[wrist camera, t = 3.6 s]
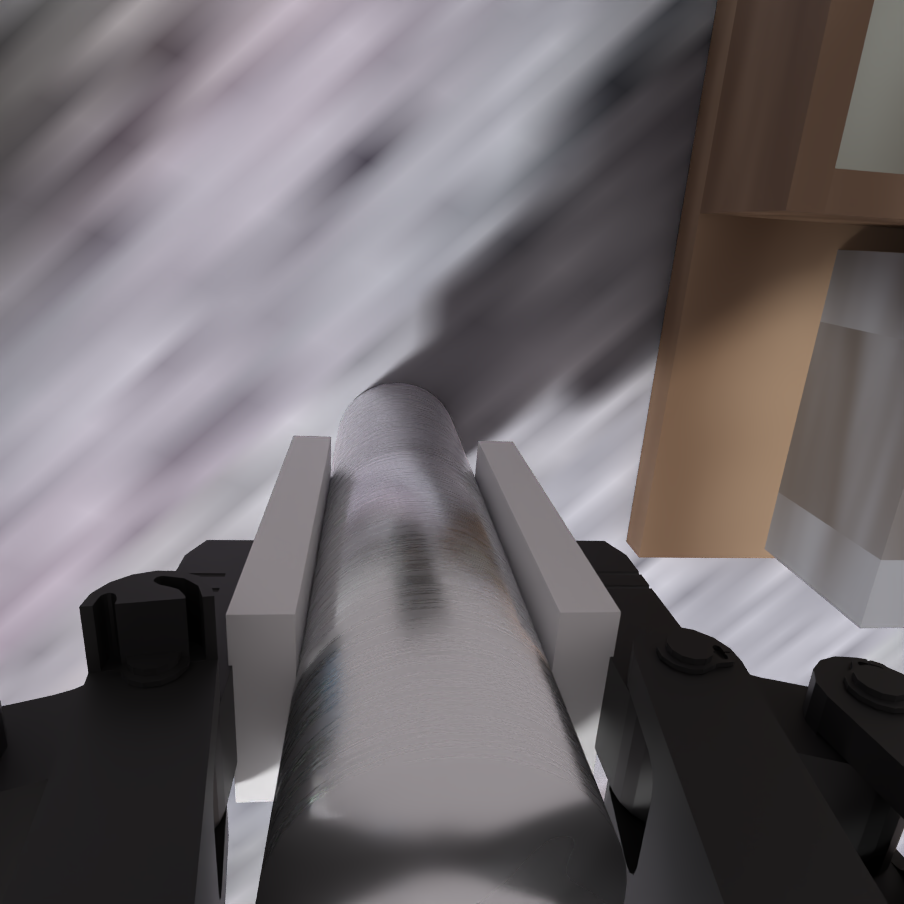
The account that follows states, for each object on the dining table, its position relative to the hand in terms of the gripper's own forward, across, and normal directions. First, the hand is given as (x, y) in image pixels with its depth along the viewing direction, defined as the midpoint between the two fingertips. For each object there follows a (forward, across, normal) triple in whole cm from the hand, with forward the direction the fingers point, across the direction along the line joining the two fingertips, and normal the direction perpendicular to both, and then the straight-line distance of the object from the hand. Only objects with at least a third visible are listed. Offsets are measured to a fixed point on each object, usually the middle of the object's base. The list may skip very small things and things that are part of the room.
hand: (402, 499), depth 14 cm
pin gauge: (+4, 0, 0) cm, 4 cm away
